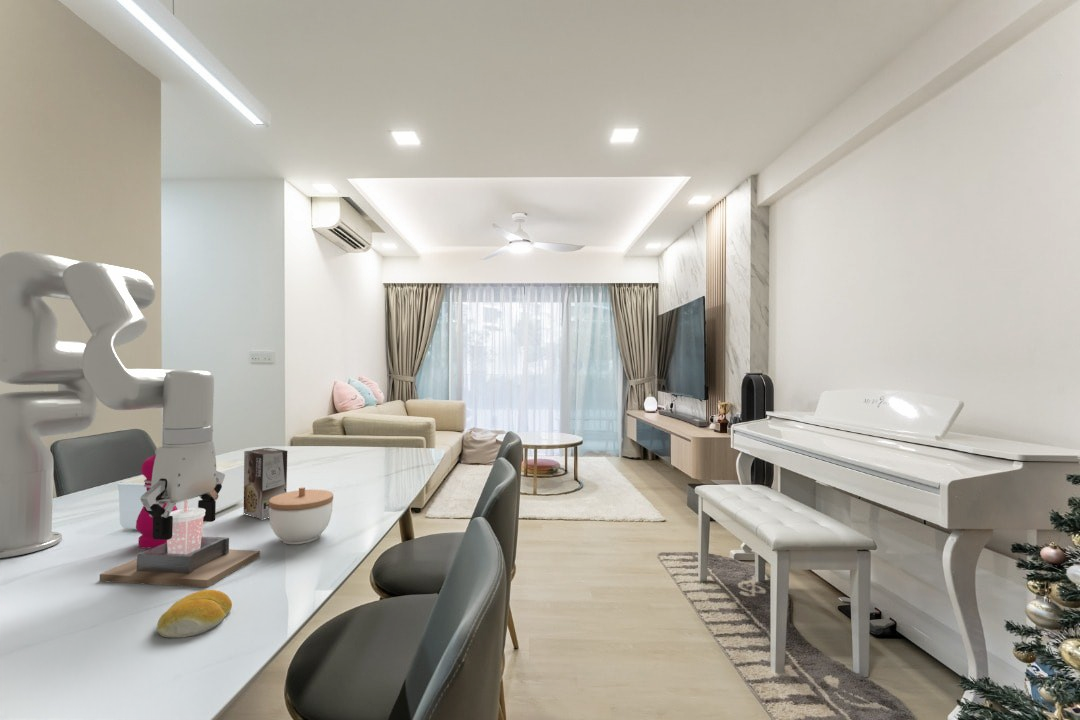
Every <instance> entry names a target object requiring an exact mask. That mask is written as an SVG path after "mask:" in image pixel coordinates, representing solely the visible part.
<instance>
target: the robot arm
mask: <svg viewBox="0 0 1080 720" xmlns="http://www.w3.org/2000/svg"><path fill="white" fill-rule="evenodd" d="M43 297H46V298H53V299H54V298H55V299H60V300H61V299H62V300H69V301H72V303H73V305H74V306H75V308H76V310H77V312H78V313H79V314H80V317H81V318H82V320H83V322H84V323H85V325H86V327H87V329H88V331H89V332H90V334H91V336H90V338H89V339H88V340H87V342H86V343H84V342H80V341H77V340H75V341H74V340H58V337H57V333H58V318H57V316H56V314H55V311H53V309H52V308H51V306H50V305H49V303H48V302H47V301H46V300H45V299H43ZM155 298H156V287H155V284H154V283H153V281H152V279H151V278H150V277H149V276H148V274H146V273H144V272H143V271H140V270H136V269H132V268H128V267H122V266H119V265H114V264H110V263H109V264H108V263H104V262H99V261H82V260H77V259H73V258H68V257H63V256H59V255H53V254H50V253H49V254H48V253H41V252H35V251H25V250H23V251H22V250H21V251H10V252H7V253H5V254H2V255H1V256H0V381H1V382H2V383H5V384H9V385H16V386H21V385H22V386H33V385H34V386H36V385H37V386H38V385H40V386H41V385H46V386H47V385H57V390H34V391H33V390H29V391H27V390H25V391H12V392H11V391H10V392H4V393H0V559H4V558H11V557H16V556H21V555H22V556H23V555H26V554H30V553H35V552H38V551H41V550H45V549H49V548H50V547H54V546H55V545H57V544H59V543H60V542H61V541H62V539H63V538H62V537H63V535H62V533H60V532H58V531H52V529H53V528H52V527H53V501H54V500H53V495H54V493H53V492H54V455H53V452H52V451H51V450H50V448H48V446H46V443H44V442H43V441H42V440H41V438H44V437H48V436H49V437H50V436H58V435H66V434H67V435H68V434H74V433H79V432H82V431H85V430H87V429H88V428H90V427H91V426H92V424H94V421H95V419H96V416H97V412H98V411H97V410H98V401H99V402H101V404H102V405H104V406H105V407H107V408H109V409H111V410H114V411H121V412H122V411H135V410H148V409H162V429H161V430H162V431H161V434H162V435H161V436H162V437H161V446H158V447H157V448H158V450H157V453H156V454H155V455H156V457H155V461H154V466H153V473H152V482H151V488H150V489H149V490H148V491H147V490H146V491H145V493H143V494H142V495H141V496H140V497H139V498H140V499H139V500H140V501H141V504H142V506H144V507H145V508H144V509H145V511H147V512H148V513H149V516H150V517H153V539H159V540H169V539H171V538H172V529H173V516H169V515H170V513H171V511H172V510H173V508H174V506H175V505H177V503H182V502H183V503H184V501H186V500H187V501H189V500H191V499H194V498H198V497H199V498H200V499H199V500H198V501H197V508H203V509H205V510H206V512H205V516H204V517H203V523H204V522H208V523H213V522H214V521H216V509H217V508H216V506H217V505H216V504H217V503H216V502H217V500H218V499H219V493H220V491H221V490H222V488H223V486H222V484H223V483H224V480H225V477H226V474H225V473H223V472H221V471H218V470H217V458H216V450H215V444H214V441H213V437H214V435H213V434H214V433H213V432H214V429H213V428H214V426H213V424H214V397H215V396H214V391H215V390H214V386H215V378H214V375H213V373H212V372H210V371H207V370H203V369H202V370H201V369H200V370H199V369H198V370H197V369H196V370H194V369H187V370H186V369H177V368H143V367H142V368H140V367H137V368H136V367H131V368H128V367H127V368H126V367H125V365H124V364H123V363H122V361H121V360H120V358H119V357H118V355H117V353H116V352H117V351H116V350H115V348H116V347H120V346H122V345H126V344H128V343H130V342H133V341H134V340H136V339H137V338H139V337H140V336H142V335H143V334H144V333H145V332H146V330H147V327H148V321H147V319H146V317H145V316H144V314H143V313H142V312H141V310H143V309H146V308H148V307H150V306H151V305H152V304H153V302H154V301H155ZM164 504H167V505H166V506H165V508H164V509H163V508H162V507H163V505H164Z"/></svg>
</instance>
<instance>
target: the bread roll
mask: <svg viewBox="0 0 1080 720" xmlns="http://www.w3.org/2000/svg"><path fill="white" fill-rule="evenodd" d="M232 607H233V603H232V600H231V599H230V597H229V596H228V595H227V594H226V593H224V592H223V591H220V590H216V589H203V590H199V591H195V592H192V593H191V594H189V595H187V596H185V597H182V598H181V599H179V600H176V602H174V603H173V604H172V605H171V606H170V607H169V608H168V610H166V611H165V612H164V613H163V614H161V616H160V617H159V619H158V622H157V626H156V631H157V633H158V634H159V635H160V636H161V637H164V638H168V639H171V638H172V639H173V638H174V639H175V638H187V637H193V636H197V635H201V634H203V633H205V632H208V631H209V630H211V629H213V628H215V627H217V626H218V625H219V624H220V623H221V622H222V621H223V620H224V618H225V617H226V616H228V614H229V613H230V612H231V610H232Z"/></svg>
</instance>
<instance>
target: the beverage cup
mask: <svg viewBox="0 0 1080 720" xmlns="http://www.w3.org/2000/svg"><path fill="white" fill-rule="evenodd" d="M205 512H206V510H205V509H203V508H198V507H189V508H188V500H186V501H183V508H182V509H181V508H180V509H178V510H175V511H172V512H171V513H170V515H169V516H173V529H172V538H171V539H169V540H167V549H168V553H171V554H189V553H191V552H193V551H195V550H198V549H200V547H201V537H203V536H202V535H203V527H204V526H203V525H204V522H203V517H204V516H205Z"/></svg>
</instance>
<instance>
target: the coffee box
mask: <svg viewBox="0 0 1080 720" xmlns="http://www.w3.org/2000/svg"><path fill="white" fill-rule="evenodd" d="M243 453H244V455H243V456H244V457H243V458H244V459H243V514H244V513H245V514H248V515H251V516H254V517H257V518H260V519H264V518H268V517H269V500H270V498H272V497H274V496H276V495H279V494H282V493H286V492H287V489H288V488H287V485H288V484H287V483H288V481H287V480H288V479H287V478H288V450H286V449H280V448H272V447H264V448H258V449H251V450H245V451H244V452H243ZM251 516H250V517H251ZM254 517H253V518H254ZM257 518H256V519H257ZM260 519H259V520H260ZM268 519H269V518H268ZM264 520H265V519H264Z"/></svg>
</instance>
